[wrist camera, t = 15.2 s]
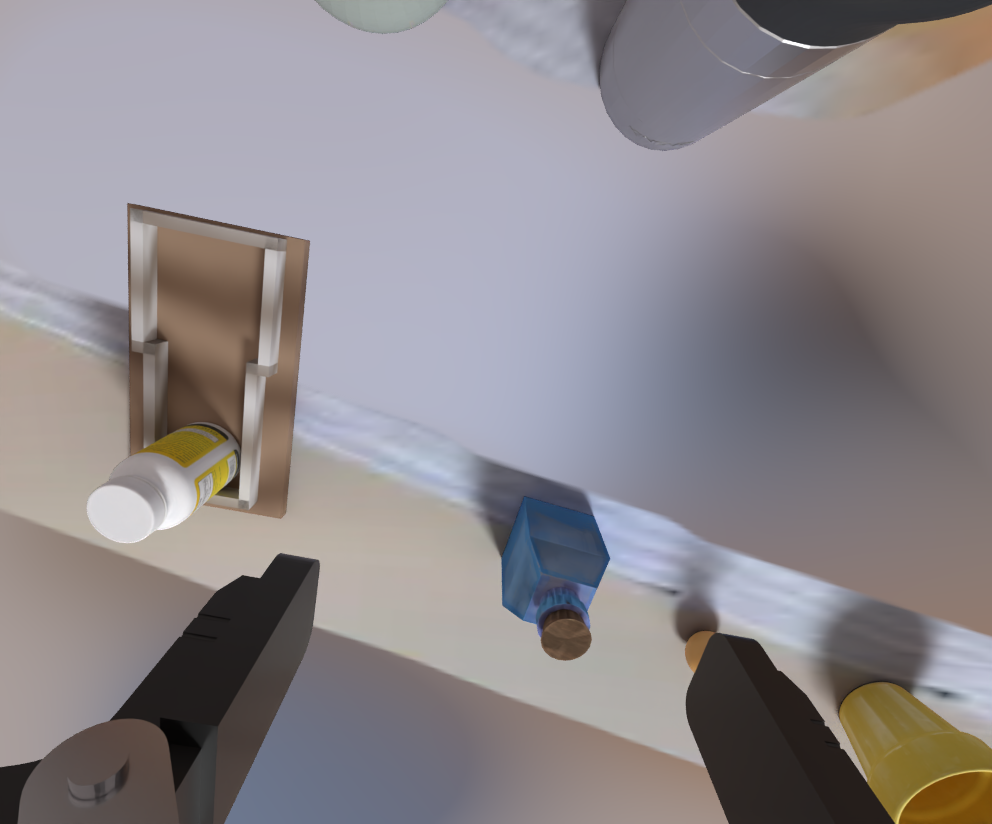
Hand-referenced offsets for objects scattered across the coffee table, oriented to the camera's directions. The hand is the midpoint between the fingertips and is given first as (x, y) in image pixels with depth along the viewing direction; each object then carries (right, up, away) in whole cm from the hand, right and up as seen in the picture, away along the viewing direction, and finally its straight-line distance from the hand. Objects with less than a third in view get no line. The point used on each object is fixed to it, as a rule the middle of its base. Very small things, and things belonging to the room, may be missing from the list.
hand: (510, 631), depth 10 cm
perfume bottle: (+4, -6, +33) cm, 34 cm away
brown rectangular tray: (-22, +7, +28) cm, 36 cm away
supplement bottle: (-23, +1, +29) cm, 37 cm away
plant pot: (+36, -24, +38) cm, 58 cm away
